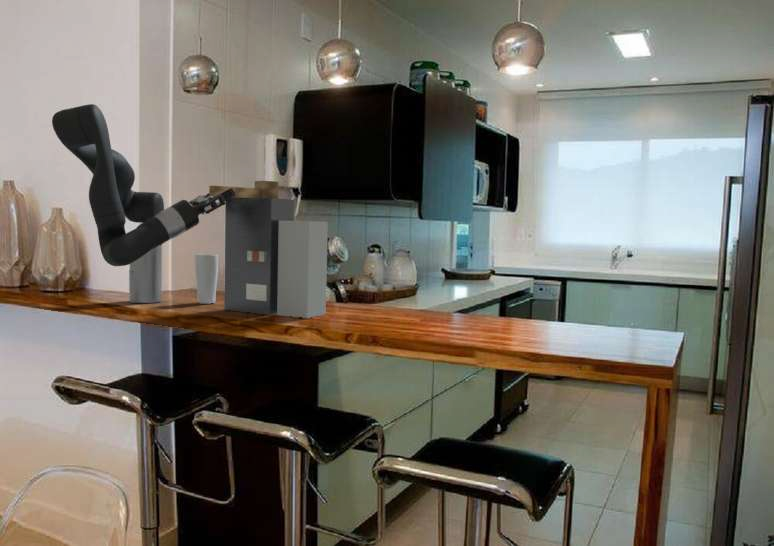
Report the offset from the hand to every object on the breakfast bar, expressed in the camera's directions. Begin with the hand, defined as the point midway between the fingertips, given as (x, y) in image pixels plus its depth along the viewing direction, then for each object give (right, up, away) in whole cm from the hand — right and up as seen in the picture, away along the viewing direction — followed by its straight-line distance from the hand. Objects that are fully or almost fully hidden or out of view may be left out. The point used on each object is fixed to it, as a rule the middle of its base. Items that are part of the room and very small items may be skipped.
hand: (226, 191), depth 177 cm
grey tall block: (+20, -34, +3) cm, 40 cm away
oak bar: (+4, -1, +3) cm, 5 cm away
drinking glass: (-11, -32, +21) cm, 40 cm away
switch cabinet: (+7, -33, +8) cm, 35 cm away
